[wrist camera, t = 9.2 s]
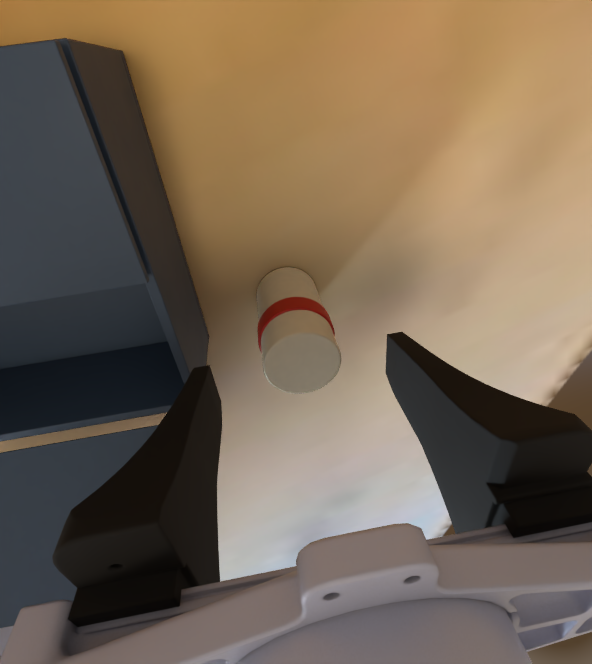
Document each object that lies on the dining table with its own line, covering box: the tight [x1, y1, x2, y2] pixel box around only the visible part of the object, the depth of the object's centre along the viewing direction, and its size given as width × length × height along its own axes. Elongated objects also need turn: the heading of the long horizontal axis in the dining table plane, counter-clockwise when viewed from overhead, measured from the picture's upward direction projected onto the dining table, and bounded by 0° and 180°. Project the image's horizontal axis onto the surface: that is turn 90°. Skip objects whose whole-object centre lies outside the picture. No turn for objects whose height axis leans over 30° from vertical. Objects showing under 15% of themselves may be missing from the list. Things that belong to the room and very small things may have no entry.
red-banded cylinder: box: [256, 267, 341, 394], centre depth 17 cm, size 3×3×6 cm
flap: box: [0, 425, 158, 628], centre depth 15 cm, size 6×15×1 cm
